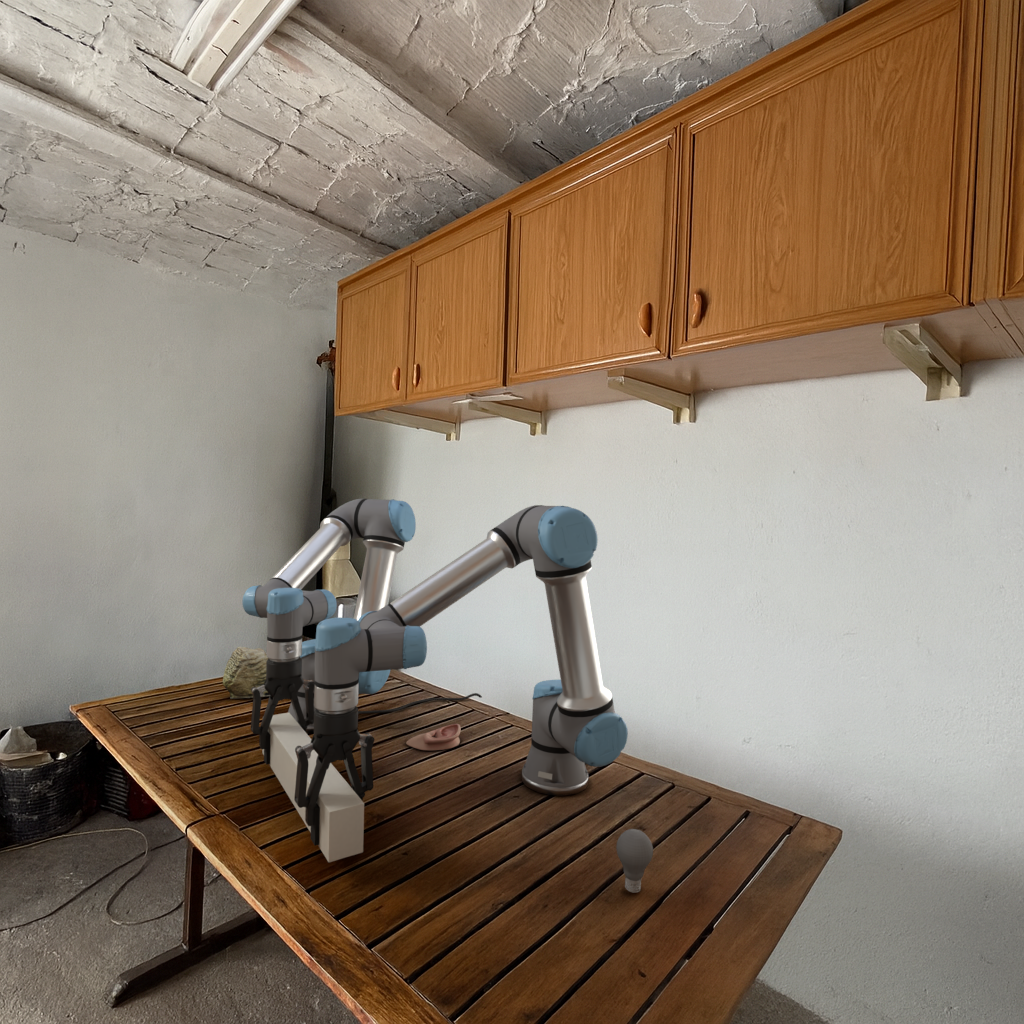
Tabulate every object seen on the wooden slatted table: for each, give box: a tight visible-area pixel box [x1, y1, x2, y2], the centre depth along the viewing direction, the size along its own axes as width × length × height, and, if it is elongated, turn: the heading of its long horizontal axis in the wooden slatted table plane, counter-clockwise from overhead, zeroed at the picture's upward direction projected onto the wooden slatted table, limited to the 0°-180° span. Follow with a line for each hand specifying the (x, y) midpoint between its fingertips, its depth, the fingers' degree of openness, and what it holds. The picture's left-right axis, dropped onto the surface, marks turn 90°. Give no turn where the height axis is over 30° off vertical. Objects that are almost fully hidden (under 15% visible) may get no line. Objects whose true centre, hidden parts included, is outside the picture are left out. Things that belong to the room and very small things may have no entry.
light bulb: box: [615, 828, 654, 894], centre depth 106 cm, size 6×6×10 cm
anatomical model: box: [405, 723, 462, 751], centre depth 165 cm, size 13×4×12 cm
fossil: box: [222, 646, 270, 699], centre depth 198 cm, size 9×18×15 cm, turn 132°
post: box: [261, 712, 365, 863], centre depth 128 cm, size 50×6×9 cm, turn 33°
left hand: (282, 758), depth 143 cm, fingers closed on post, 6 cm apart
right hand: (333, 836), depth 112 cm, fingers closed on post, 6 cm apart
